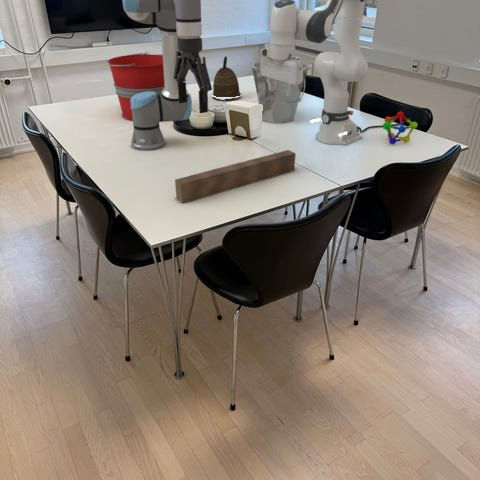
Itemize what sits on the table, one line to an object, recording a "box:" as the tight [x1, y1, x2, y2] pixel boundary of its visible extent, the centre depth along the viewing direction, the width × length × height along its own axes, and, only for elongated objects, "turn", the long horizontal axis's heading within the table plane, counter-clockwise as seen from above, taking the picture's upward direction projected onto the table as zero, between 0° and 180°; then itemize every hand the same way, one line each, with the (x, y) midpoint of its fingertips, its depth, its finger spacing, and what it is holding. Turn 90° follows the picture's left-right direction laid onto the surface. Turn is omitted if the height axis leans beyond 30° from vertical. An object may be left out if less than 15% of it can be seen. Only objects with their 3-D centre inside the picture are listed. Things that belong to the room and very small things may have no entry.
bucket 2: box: [251, 60, 309, 124], centre depth 236 cm, size 30×30×28 cm
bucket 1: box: [104, 51, 165, 121], centre depth 240 cm, size 35×35×30 cm
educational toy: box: [382, 110, 418, 145], centre depth 207 cm, size 16×13×15 cm
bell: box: [212, 56, 242, 97], centre depth 278 cm, size 19×26×20 cm
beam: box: [174, 149, 296, 204], centre depth 169 cm, size 52×5×7 cm, turn 125°
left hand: (193, 107), depth 145 cm, fingers open, 13 cm apart
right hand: (280, 92), depth 163 cm, fingers open, 8 cm apart
